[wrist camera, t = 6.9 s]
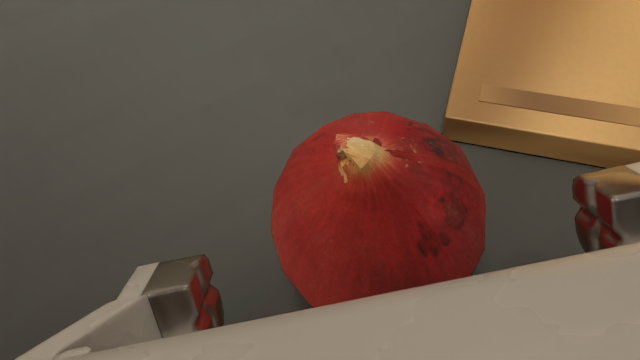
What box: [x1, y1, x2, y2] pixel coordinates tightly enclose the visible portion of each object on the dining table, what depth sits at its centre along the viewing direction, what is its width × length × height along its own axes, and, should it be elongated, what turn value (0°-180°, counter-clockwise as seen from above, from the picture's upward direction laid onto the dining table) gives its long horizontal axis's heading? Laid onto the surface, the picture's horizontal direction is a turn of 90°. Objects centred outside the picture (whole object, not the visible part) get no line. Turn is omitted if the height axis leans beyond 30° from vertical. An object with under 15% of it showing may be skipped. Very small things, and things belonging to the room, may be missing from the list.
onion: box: [271, 112, 486, 307], centre depth 15 cm, size 6×6×8 cm
